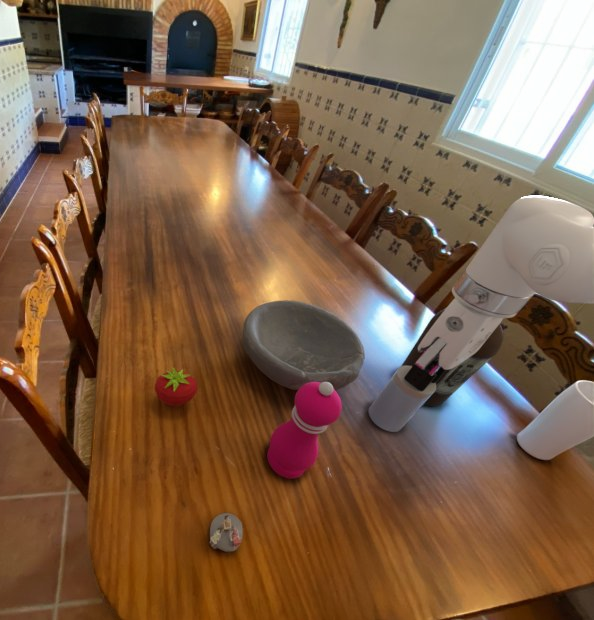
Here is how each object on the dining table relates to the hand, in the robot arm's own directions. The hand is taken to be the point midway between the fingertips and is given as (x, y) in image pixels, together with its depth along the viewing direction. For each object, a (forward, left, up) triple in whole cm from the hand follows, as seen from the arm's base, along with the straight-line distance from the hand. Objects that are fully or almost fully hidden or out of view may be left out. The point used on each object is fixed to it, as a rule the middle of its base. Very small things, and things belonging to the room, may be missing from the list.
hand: (419, 380), depth 59 cm
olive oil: (+2, -13, -12) cm, 18 cm away
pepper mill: (+4, +23, -12) cm, 26 cm away
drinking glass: (-16, -19, -12) cm, 28 cm away
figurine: (0, +39, -12) cm, 41 cm away
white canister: (+1, 0, -12) cm, 12 cm away
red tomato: (+22, +34, -12) cm, 42 cm away
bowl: (+19, +7, -12) cm, 23 cm away
